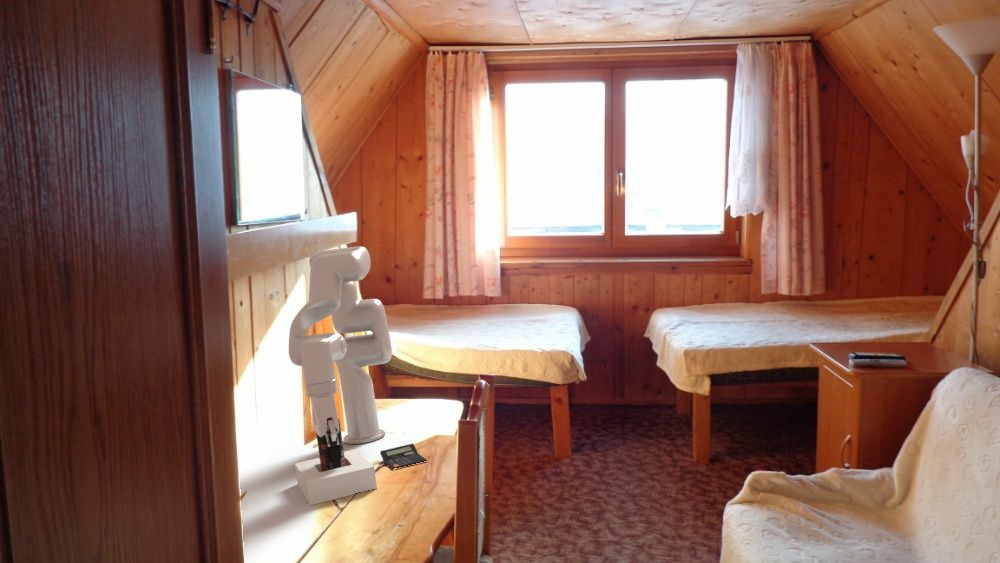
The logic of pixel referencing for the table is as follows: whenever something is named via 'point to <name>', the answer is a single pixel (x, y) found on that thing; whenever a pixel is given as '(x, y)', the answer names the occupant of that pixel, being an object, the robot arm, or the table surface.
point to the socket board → (335, 478)
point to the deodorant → (323, 452)
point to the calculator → (401, 456)
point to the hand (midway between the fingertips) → (331, 457)
